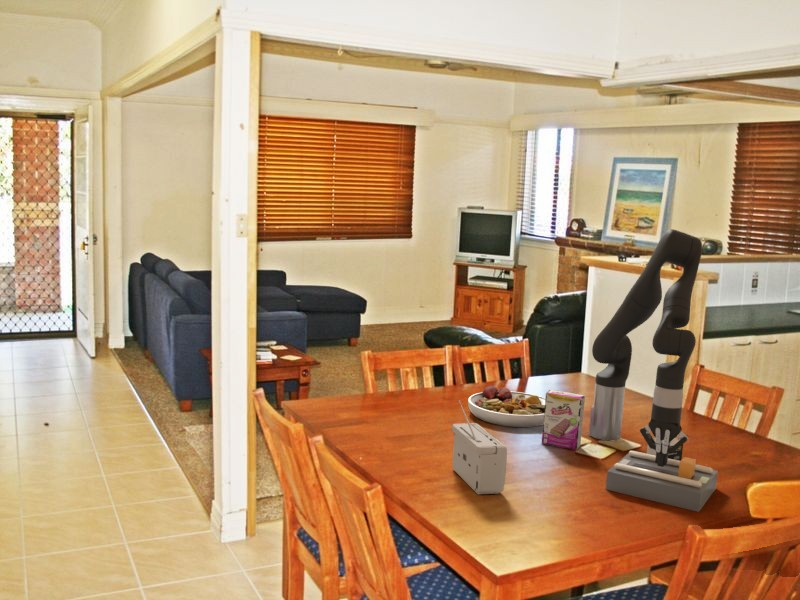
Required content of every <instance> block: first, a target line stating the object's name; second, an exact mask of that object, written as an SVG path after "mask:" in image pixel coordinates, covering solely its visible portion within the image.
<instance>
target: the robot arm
mask: <svg viewBox="0 0 800 600" xmlns="http://www.w3.org/2000/svg"><path fill="white" fill-rule="evenodd" d="M702 253H703V243H702V241H701V239H700V238H698V237H696V236H693V235H691V234H689V233H686V232H684V231H683V232H682V231H679V230H676V229H672V228H671V229H668V230H666V232H664V234H663V235H662V236H661V238H660V240H659V241H658V243H657V246H656V247H655V249H654V250H653V252H652V254H651V257H650V259H648V262H647V264H646V266H645V267H644V269H643V271H642V272H641V273H640V275H639V276H638V277H637V278H638V279H637V280H636V281H635V283H634V284H633V285H632V287H631V288H630V290H629V291H628V293H627V294H626V296H625V298H624V300H623V302H622V303H621V305H620V306H618V308H617V311H616V312H615V314H613V316H612V318H611V319H610V320H609V321H608V323H607V324H606V326H604V328H603V329H602V330H601V331H600V332H599V334H598V335H597V336H596V338H595V340H594V341H593V345H592V349H591V353H592V358H593V359H594V360H595V361H596V362H597V363H600V364H605V365H607V366H606V367H605V368H604V369H602V370H601V371H599V372H597V373H596V376H595V381H594V382H595V383H594V391H593V392H594V393H593V394H594V396H593V405H592V406H591V407H590V413H589V414H590V415H589V416H590V417H589V425H588V426H589V427H588V436H590V437H593V438H595V439H598V440H603V441H608V440H614V441H618V440H617V439H619V440H620V439H621V436H622V435H621V434H622V425H623V415H624V406H625V405H624V403H625V392H626V382H627V380H628V378H629V375H630V368H631V362H632V356H633V355H632V353H633V347H632V342H631V340H630V338H629V336H628V334H629V333H631V332H632V331H634V330H635V329H637V328H638V327H640V326H641V325H642V324H644V323H645V322H646V321H648V320H649V319H650V317H652V315H654V312H655V311H656V309H657V308H658V307H659V305H660V304H661V301H662V298H663V290H662V289H663V288H662V281H661V270H662V268H663V265H664V264H665V263H669V264H672V265H674V266H677V267H680V268H682V269H683V271H682V275H681V276H680V277H679V278H678V279H677V280H676V281H675V282H674V283H673V284H672V285H670V287H669V288H668V289H667V291H666V292H665V294H664V298H663V303H662V312H661V319H660V322H659V324H658V327H657V328H656V330H655V332H654V335H653V338H652V348H653V350H654V351H655V353H657V354H659V355H664V356H675V357H677V356H678V358H677V360H675V361H671V362H670V361H669V362H663V363H659V364H658V366H657V368H656V374H655V375H656V377H655V386H654V390H653V395H652V407H651V414H650V420H649V422H648V424H647V425H646V426H643V427H641V428H640V429H639V433H641V436H642V437H643V439H644V441H645V442H646V444H647V446H648V445H649V447H650V448H651V449H654V450H655V451H656V460H655V462H656V463H657V466H661V467H663V466H664V465H666V464H667V461H668V453H673V452H674V451H676V450H677V449H678V448H679V447H680V446H681V445H682V444H683V445H684V444H685V443H686V442H687V441H688V440H689V439H690V436H689V435H688V434H685V433H684V432H683V428H682V425H681V423H682V422H681V420H682V414H683V413H682V410H683V403H684V401H683V400H684V385H685V384H684V383H685V375H686V369H687V367H688V363H689V361H690V359H691V356H692V354H693V352H694V349H695V346H696V343H697V342H696V341H697V340H696V336H695V334H694V333H693V331H691V330H688V329H683V328H684V327H686V326H687V325H688V324H689V323H690V319H691V317H690V316H691V307H692V305H691V304H692V295H693V290H694V287H695V286H694V285H695V283H696V278H697V274H698V271H699V268H700V267H699V266H700V262H701V258H702ZM651 433H652V435H653V436H652V435H651ZM676 436H677V441H678V442H677V443H676V444H675V445H674V446H673V447H670V444H671V441H672V440H673V439H674V438H675V437H676ZM654 437H655V438H656V442H655V441H654V439H653V438H654ZM663 440H664V443H663ZM662 449H663V450H662Z"/></svg>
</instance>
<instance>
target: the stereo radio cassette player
mask: <svg viewBox="0 0 800 600" xmlns="http://www.w3.org/2000/svg"><path fill="white" fill-rule="evenodd" d="M458 403H459V404H460V406H461V411H462V412H463V415H464V418H465V420H466V423H465V422H463V423H453V424H452V425H451V432H453V449H452V450H453V452H452V470H453V471H454V472H455V473H456V474H458V476H459V477H460V478H461V479H462V480H463V481H464V482H465V483H466V484H467V485H468V486H469V487H470V489H472V490H473V491H474V492H475V493H476V495H489V494H492V495H493V494H495V495H498V494H500V493H502V492H503V491H504V489H505V483H506V475H507V474H506V473H507V457H508V451H507V449H508V448H507V446H506V445H504V444H503V443H502V442H501V441H500V440H498V439H497V438H496V437H494V436H493V435H492V434H491V433H490V432H488V431H487V430H486V429H484V427H482V426H481V425H480V424H479V423H476V422H470V421H469V419H468V417H467V414H466V412H465V410H464V408H463V406H462V403H461V400H458Z"/></svg>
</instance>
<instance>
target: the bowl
mask: <svg viewBox="0 0 800 600" xmlns="http://www.w3.org/2000/svg"><path fill="white" fill-rule="evenodd" d="M545 399H546V397H543V396H540V395H537V394H532V393H528V392H527V393H526V392H521V391H510V389H509V388H508V387H502V388H500V389H499V390H498V388H497V386H494V385H488V386H486V387H484V389H483V391H482V392H477V393H474V394H472V395H471V396H469V397H468V399H467V400H468V401H467V404H468V408H469V411H470V412H471V413H472V415H474V416H475V417H476V418H478V419H479V420H482V421H484V422H486V423H490V424H494V425H499V426H503V427H513V428H533V427H538V426H539V427H540V426H543V422H544V410H545Z"/></svg>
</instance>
